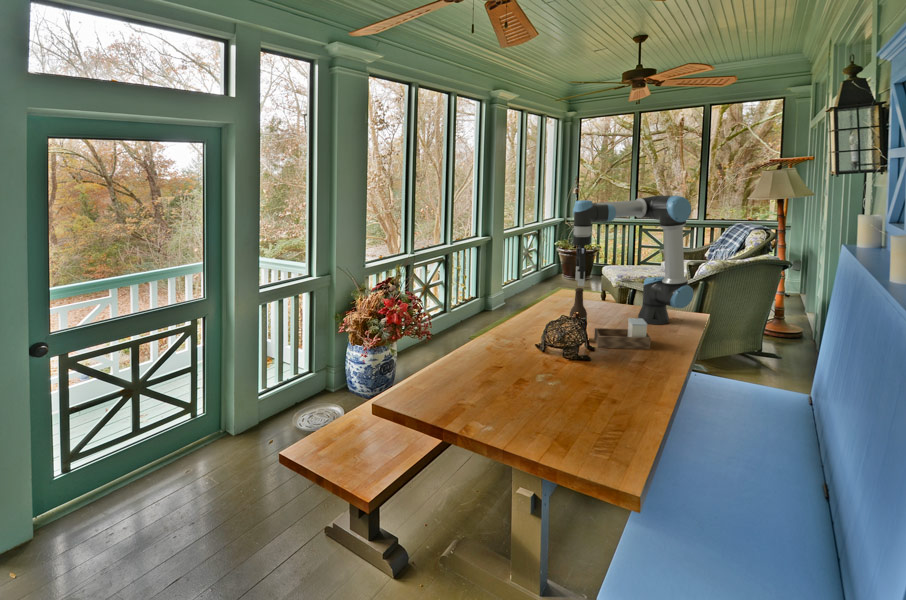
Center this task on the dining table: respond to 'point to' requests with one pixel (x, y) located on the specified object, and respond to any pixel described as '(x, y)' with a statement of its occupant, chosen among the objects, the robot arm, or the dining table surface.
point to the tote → (619, 339)
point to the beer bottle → (579, 305)
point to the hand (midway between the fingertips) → (579, 283)
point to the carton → (637, 327)
